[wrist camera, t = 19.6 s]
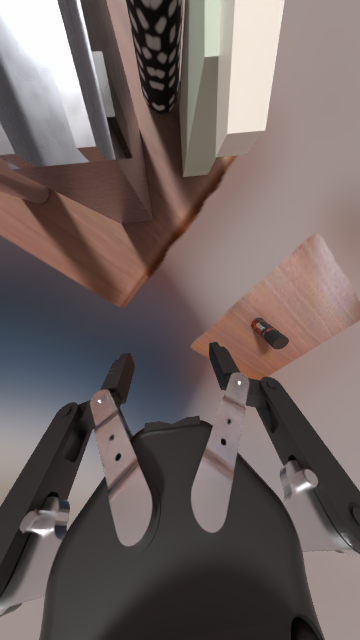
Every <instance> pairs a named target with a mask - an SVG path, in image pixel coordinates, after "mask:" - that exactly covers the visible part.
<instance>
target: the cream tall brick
mask: <svg viewBox="0 0 360 640" xmlns="http://www.w3.org/2000/svg"><path fill="white" fill-rule="evenodd" d="M283 7H284V0H220V29H219V61H218V93H217V124H216V156H215V157H226V156H236V155H245V154H247V152H248V151H249V150H250V149H251V147H252V146H253V145H254V143H255V142H256V141H257V140H258V139H259V137H260V136H261V135H262V134H263V132H264V131H265V128H266V121H267V114H268V108H269V101H270V94H271V88H272V81H273V74H274V68H275V61H276V53H277V47H278V41H279V34H280V27H281V20H282V14H283Z"/></svg>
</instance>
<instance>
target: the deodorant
mask: <svg viewBox="0 0 360 640" xmlns="http://www.w3.org/2000/svg"><path fill="white" fill-rule="evenodd" d="M251 326H252V328H253V329H254V330H255V331H256V332H257V333H259V334H260V335H261V336H262V337H263V338H264V339H265V340H266V341H267V342H268V343H269V344H270V345H271V346H272V347H273V348H274V349H281V348H284V347H285V346H286V345H287V344H288V342H289V340H288V338H287V337H285V336H284V335H283V334H281V333H280V332H279V331H277V330H276V329H275V328H274V327H272V326H271V325H270V324H268V323H267V322H266V321H264V320H263V319H262V318H257V319H255V320H253V322H252V323H251Z"/></svg>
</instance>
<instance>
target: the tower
mask: <svg viewBox="0 0 360 640" xmlns="http://www.w3.org/2000/svg"><path fill="white" fill-rule="evenodd" d="M0 158H1V159H3V160H5V161H7V163H8V165H9V167H10V169H11V170H13V171H15V172H17V173H19V174H21V175H23V176H25V177H27V178H29V179H31V180H33V181H35V182H37V183H39V184H41V185H43V186H45V187H47V188H49V189H52V190H54V191H56V192H58V193H60V194H62V195H64V196H66V197H68V198H70V199H72V200H74V201H76V202H78V203H80V204H82V205H84V206H86V207H88V208H90V209H92V210H94V211H96V212H98V213H100V214H102V215H104V216H106V217H108V218H110V219H112V220H114V221H116V222H119V223H121V224H126V223H136V222H146V221H153V214H152V208H151V201H150V195H149V188H148V182H147V175H146V169H145V162H144V156H143V149H142V142H141V136H140V129H139V125H138V121H137V118H136V114H135V110H134V106H133V102H132V98H131V94H130V91H129V87H128V83H127V79H126V75H125V71H124V67H123V64H122V60H121V56H120V52H119V48H118V44H117V40H116V37H115V33H114V29H113V25H112V21H111V17H110V13H109V10H108V6H107V2H106V0H0Z"/></svg>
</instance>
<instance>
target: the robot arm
mask: <svg viewBox="0 0 360 640" xmlns="http://www.w3.org/2000/svg"><path fill="white" fill-rule="evenodd" d="M0 191H1V192H4V193H7V194H10V195H13V196H16V197H19V198H22V199H25V200H28V201H31V202H34V203H43V202H45V201H46V200H47V199H48V197H49V188H47V187H45V186H43V185H41V184H39V183H37V182H35V181H33V180H31V179H29V178H27V177H25V176H23V175H21V174H19V173H17V172H15V171H13V170H11V169H10V167H9V165H8V163H7V161H5V160H3V159H1V158H0ZM209 357H210V361H211V364H212V366H213V369H214V372H215V374H216V377H217V380H218V383H219V385H220V388H221V390H225V391H226V392H225V395H224V397H223V399H222V402H221V405H220V407H219V410H218V414H217V416H216V419H215V422H214V425H213V426H212V425H211V424H209V423H208V422H205V421H202V420H200V418H199V416H195V417H187V418H185V419H182V420H180V421H178V422H176V423H173V424H170V423H164V422H151V423H145V428H143V429H142V430H140V431H139V432H137V433H136V434H135V435H134V436H133V434H132V432H131V430H130V428H129V426H128V424H127V422H126V420H125V417H124V415H123V413H122V411H121V409H120V405H121V404H124V403H126V399H127V396H128V392H129V388H130V384H131V380H132V376H133V373H134V368H135V365H134V361H133V359H132V356H131V354H130V353H124V354H121V356H120V358H119V360H116V361H115V362H114V363H113V364H112V366H111V368H110V371H109V373H108V375H107V377H106V379H105V381H104V383H103V385H102V388H101V390H100V391H99V392H97V393H96V394H95V395H94V396H93V397H92V399H91V400H89V401H87V402H84V403H82V404H79V405H78V404H77V403H75V402H72V403H69V404H67V405H65V406H64V407H62V408H61V409H60V410H59V411H58V412H57V414H56V415H55V417H54V419H53V420H52V422H51V424H50V425H49V427H48V429H47V430H46V432H45V434H44V435H43V437H42V439H41V440H40V442H39V444H38V445H37V447H36V449H35V450H34V452H33V454H32V455H31V457H30V459H29V460H28V462H27V464H26V465H25V467H24V468H23V470H22V472H21V474H20V475H19V477H18V478H17V480H16V482H15V483H14V485H13V487H12V489H11V490H10V492H9V494H8V495H7V497H6V498H5V500H4V502H3V503H2V505H1V507H0V616H3V615H5V614H8V613H10V612H12V611H14V610H16V609H17V608H18V607H19V606H20V605H21V604H22V603H24V602H26V601H30V600H33V599H37V598H40V597H44V596H45V601H44V611H43V620H42V626H41V633H40V639H39V640H325V639H324V637H323V633H322V631H321V628H320V625H319V622H318V619H317V615H316V612H315V609H314V605H313V602H312V598H311V595H310V590H309V587H308V582H307V577H306V573H305V566H304V559H303V554H302V552H308V551H332V550H334V551H336V552H339V553H345V554H347V555H350V556H355V557H360V491H359V490H358V489H357V487H356V486H355V485H354V483H353V482H352V480H351V479H350V478H349V476H348V475H347V474H346V472H345V471H344V469H343V468H342V467H341V465H340V464H339V463H338V461H337V460H336V459H335V457H334V456H333V455H332V453H331V452H330V451H329V449H328V448H327V446H326V445H325V444H324V443H323V441H322V440H321V438H320V437H319V436H318V434H317V433H316V431H315V430H314V429H313V427H312V426H311V425H310V423H309V422H308V421H307V419H306V418H305V417H304V415H303V414H302V412H301V411H300V410H299V408H298V407H297V406H296V404H295V403H294V402H293V400H292V399H291V398H290V396H289V395H288V393H287V392H286V391H285V390H284V388H283V387H282V385H281V384H280V383H279V382H278V381H277V380H275V379H273V378H271V377H263V378H262V379H261V381H260V380H255V379H249V378H247V377H246V376H245V375H244V374H242V373H240V371H239V369H238V368H237V366H236V364H235V362H234V361H233V359H232V357H231V355H230V353H229V352H228V350H227V349H226V348H225V347H220V346H219V344H218V342H213V343H210V344H209ZM245 405H247V406H251V407H256V409H257V411H258V414H259V416H260V418H261V420H262V422H263V424H264V426H265V428H266V430H267V432H268V435H269V437H270V439H271V441H272V443H273V445H274V447H275V449H276V451H277V453H278V455H279V458H280V459H281V461H282V464H283V467H282V468H281V470H280V480H281V483H282V486H283V489H284V501H283V503H282V502H281V500H280V499H279V497H278V496H277V495H276V494H275V492H274V491H273V490H272V489H271V488H270V487H269V486H268V485H267V484H266V482H265V481H264V480H263V479H262V478H261V477H260V476H259V475H258V474H257V473H256V472H255V470H254V469H253V468H252V467H251V466H250V465H249V464H248V463H247V462H246V461H245V460H244V459H243V457H242V456H241V455H240V454H239V453H238V446H239V441H240V436H241V430H242V425H243V419H244V414H245ZM94 428H95V429H94ZM92 429H94V432H95V437H96V441H97V445H98V449H99V453H100V457H101V461H102V465H103V469H104V473H105V477H104V478H103V480H102V481H101V483H100V484H99V486H98V487H97V488H96V490H95V491H94V493H93V494H92V496H91V497H90V498H89V500H88V501H87V503H86V504H85V506H84V507H83V509H82V510H81V511H80V513H79V514H78V516H77V517H76V519H75V520H74V522H73V523H72V524H71V526H70V528H69V529H68V531H67V523H68V519H69V512H70V504H69V502H68V501H67V499H68V496H69V493H70V490H71V488H72V485H73V482H74V479H75V476H76V474H77V471H78V468H79V465H80V462H81V460H82V457H83V454H84V451H85V448H86V445H87V443H88V440H89V437H90V434H91V431H92Z"/></svg>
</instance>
